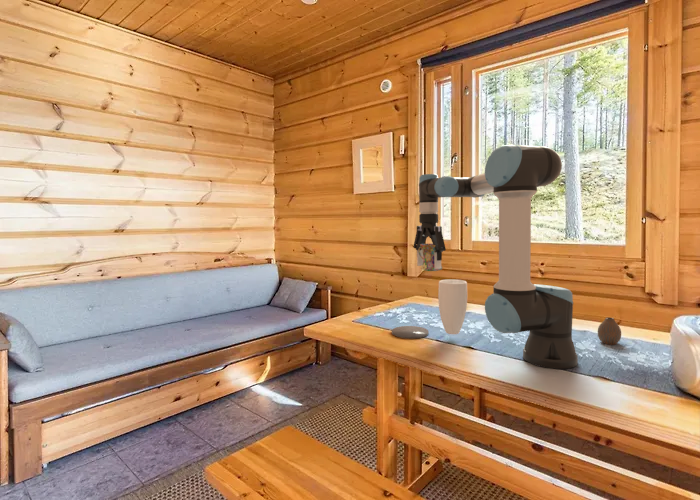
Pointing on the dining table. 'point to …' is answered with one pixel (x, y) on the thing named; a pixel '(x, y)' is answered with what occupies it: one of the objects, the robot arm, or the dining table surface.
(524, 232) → the robot arm
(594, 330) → the dining table surface
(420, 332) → the disc
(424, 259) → the mug
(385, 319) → the dining table surface
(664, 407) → the dining table surface
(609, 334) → the vase
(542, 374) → the dining table surface
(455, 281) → the cup
